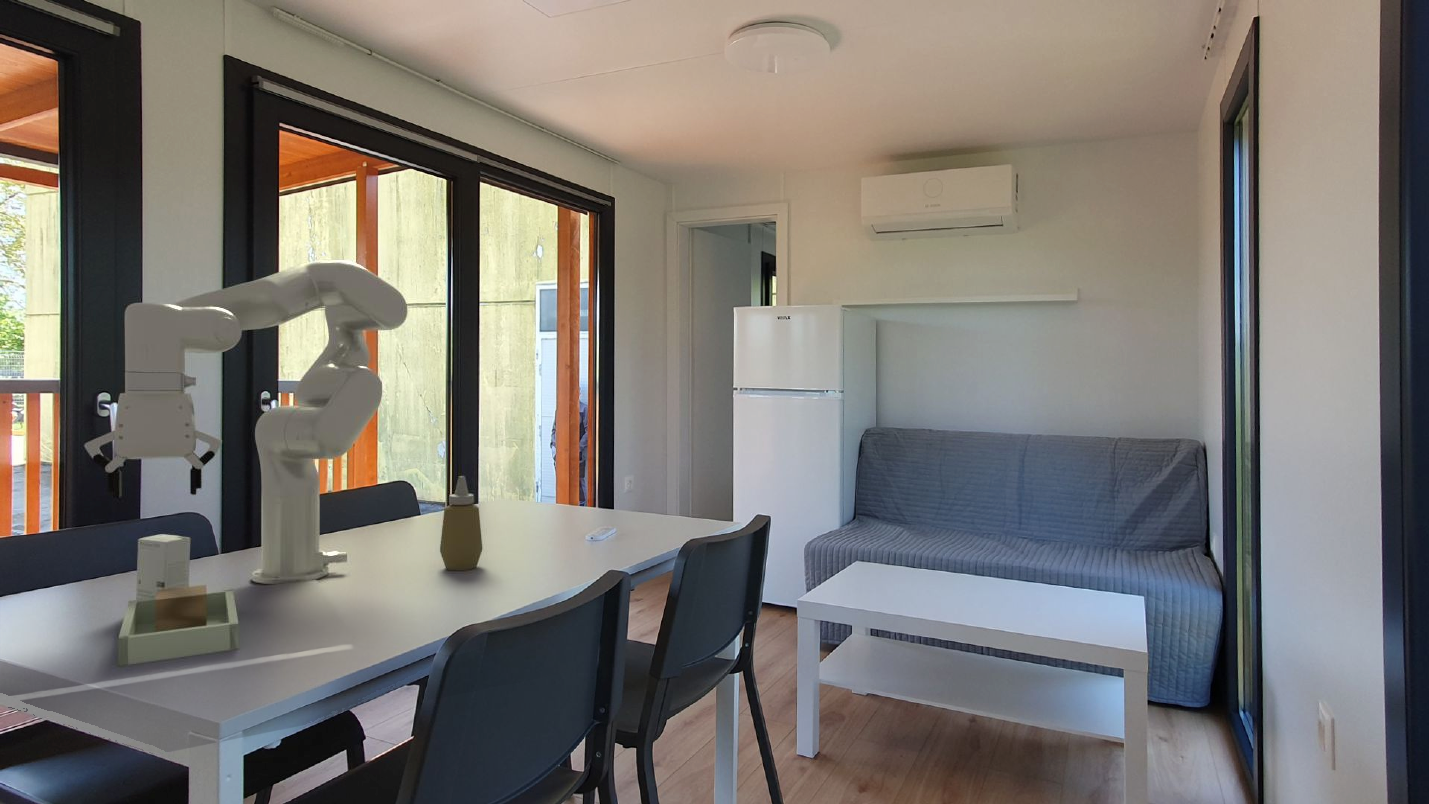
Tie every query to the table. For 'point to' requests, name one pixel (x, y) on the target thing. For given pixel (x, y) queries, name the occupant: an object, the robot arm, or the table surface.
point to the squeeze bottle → (461, 530)
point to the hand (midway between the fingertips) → (156, 495)
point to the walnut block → (181, 608)
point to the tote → (177, 632)
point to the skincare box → (162, 564)
